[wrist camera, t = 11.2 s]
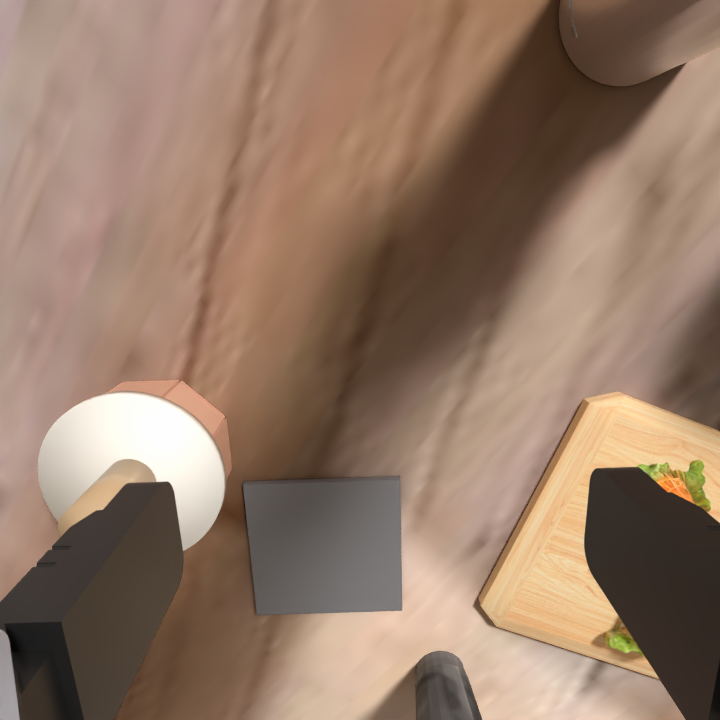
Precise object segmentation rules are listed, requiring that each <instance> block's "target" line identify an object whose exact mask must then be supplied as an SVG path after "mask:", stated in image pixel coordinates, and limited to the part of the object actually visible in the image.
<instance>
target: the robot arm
mask: <svg viewBox="0 0 720 720" xmlns="http://www.w3.org/2000/svg"><path fill="white" fill-rule="evenodd" d="M559 30H560V34H561V38H562V43H563V45H564V48H565V50H566V52H567V54H568V56H569V58H570V59H571V61H572V62H573V63H574V65H575V66H576V67H577V68H578V70H580V71H581V72H582V73H583V74H585V75H586V76H587V77H588V78H590V79H592V80H594V81H597V82H599V83H601V84H605V85H610V86H631V85H634V84H638V83H641V82H645V81H647V80H649V79H651V78H653V77H655V76H657V75H660V74H662V73H664V72H666V71H668V70H670V69H672V68H675V67H677V66H679V65H681V64H684V63H686V62H688V61H690V60H692V59H694V58H697V57H699V56H701V55H703V54H705V53H707V52H709V51H712V50H714V49H716V48H718V47H720V0H560V6H559ZM584 550H585V556H586V561H587V564H588V567H589V570H590V572H591V574H592V576H593V577H594V579H595V581H596V582H597V584H598V585H599V587H600V588H601V590H602V591H603V593H604V594H605V596H606V597H607V599H608V601H609V602H610V604H611V605H612V607H613V608H614V610H615V611H616V613H617V614H618V616H619V617H620V619H621V621H622V622H623V624H624V625H625V627H626V628H627V630H628V631H629V633H630V634H631V636H632V637H633V639H634V641H635V642H636V644H637V645H638V647H639V648H640V650H641V651H642V653H643V654H644V656H645V658H646V659H647V661H648V662H649V664H650V665H651V667H652V668H653V670H654V671H655V673H656V674H657V676H658V678H659V679H660V681H661V682H662V684H663V685H664V687H665V688H666V690H667V691H668V693H669V694H670V696H671V698H672V699H673V701H674V702H675V704H676V705H677V707H678V708H679V710H680V711H681V713H682V714H683V716H684V718H685V719H686V720H720V523H719V522H718V521H717V520H716V519H714V518H713V517H712V516H711V515H710V514H708V513H707V512H706V511H705V510H704V509H703V508H701V507H700V506H698V505H696V504H694V503H692V502H690V501H688V500H686V499H684V498H682V497H680V496H678V495H676V494H674V493H672V492H667V491H666V490H665V489H663V488H662V487H661V486H660V485H659V484H658V483H657V482H656V481H655V480H653V479H652V478H651V477H650V476H649V475H648V474H647V473H646V472H644V471H643V470H642V469H641V468H639V467H615V468H596V469H595V470H593V472H592V474H591V477H590V483H589V493H588V504H587V514H586V525H585V535H584ZM182 572H183V547H182V541H181V534H180V527H179V521H178V514H177V507H176V500H175V494H174V490H173V487H172V485H171V484H170V483H169V482H167V481H166V482H136V483H127V484H125V485H124V486H123V487H122V488H121V490H120V491H119V492H118V493H117V494H116V495H115V496H114V498H113V499H112V500H111V501H110V502H109V503H108V505H107V506H106V507H105V508H104V509H103V510H96V511H94V512H93V513H91V514H90V515H88V516H87V517H85V518H83V519H82V520H80V521H79V522H77V523H76V524H74V525H72V526H71V527H70V528H69V529H68V530H67V531H66V532H65V533H64V534H63V535H62V536H61V537H60V538H59V540H58V541H57V542H56V543H55V544H54V545H53V546H52V550H48V551H47V552H46V554H45V555H44V556H43V557H42V558H41V559H40V560H39V561H38V562H37V566H36V567H33V568H32V569H31V570H30V571H29V572H28V573H27V574H26V575H25V576H24V577H23V578H22V579H21V581H20V582H19V583H18V584H17V585H16V586H15V587H14V588H13V589H12V590H11V591H10V592H9V593H8V595H7V596H6V597H5V598H4V599H3V600H2V601H1V602H0V720H114V719H115V717H116V715H117V713H118V711H119V709H120V707H121V705H122V703H123V700H124V698H125V696H126V694H127V692H128V690H129V688H130V686H131V684H132V682H133V680H134V678H135V676H136V674H137V672H138V670H139V668H140V665H141V663H142V661H143V659H144V657H145V655H146V653H147V651H148V649H149V647H150V645H151V643H152V641H153V639H154V637H155V635H156V632H157V630H158V628H159V626H160V624H161V622H162V620H163V618H164V616H165V614H166V612H167V610H168V608H169V606H170V604H171V602H172V600H173V597H174V595H175V593H176V591H177V589H178V587H179V584H180V581H181V577H182Z"/></svg>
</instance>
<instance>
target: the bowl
mask: <svg viewBox="0 0 720 720" xmlns="http://www.w3.org/2000/svg"><path fill="white" fill-rule="evenodd" d="M113 391H139V392H145V393H150V394H154V395H157V396H161V397H163V398H165V399H168V400H170V401H172V402H174V403H176V404H178V405H180V406H182V407H183V408H185V409H186V410H187V411H189V412H190V413H192V414H193V415H194V416H195V417H196V418H197V419H198V420H199V421H201V422H202V424H203V425H204V426H205V427H206V428H207V429H208V431H209V432H210V433H211V435H212V436H213V438H214V439H215V441H216V443H217V445H218V447H219V449H220V451H221V454H222V457H223V460H224V463H225V469H226V479H227V478H228V476H229V474H230V472H231V469H232V462H231V453H230V444H229V435H228V427H227V418H224V417H225V415H223V414H222V413H221V412H220V411H218V410H217V409H216V408H215V407H214V406H212V405H211V404H210V403H209V402H207V401H206V400H205V399H204V398H202V397H201V396H200V395H199V394H198V393H196V392H195V391H194V390H193V389H191V388H190V387H189V386H188V385H187V384H185V383H184V382H183V381H181V382H179V380H159V381H130V382H123V383H120V384H119V385H117V386H116V387H115V388H113V389H112V390H110V391H109V392H113Z"/></svg>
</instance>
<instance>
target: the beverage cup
mask: <svg viewBox="0 0 720 720" xmlns="http://www.w3.org/2000/svg"><path fill="white" fill-rule="evenodd" d="M415 687H416V720H482V717H481V714H480V712H479V709H478V706H477V703H476V700H475V697H474V694H473V691H472V688H471V685H470V682H469V679H468V677H467V675H466V673H465V670H464V668H463V664H462V662H461V661H460V659H459V658H458V657H457V656H455V655H454V654H452V653H449V652H443V651H438V652H432V653H430V654H428V655H426V656H424V657H423V658H422V659H421V660H420V661H419V663H418V665H417V667H416V686H415Z"/></svg>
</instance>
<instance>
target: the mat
mask: <svg viewBox="0 0 720 720" xmlns="http://www.w3.org/2000/svg"><path fill="white" fill-rule="evenodd" d="M243 491H244V500H245V509H246V518H247V528H248V537H249V546H250V556H251V565H252V574H253V583H254V593H255V602H256V611H257V615H280V614H311V613H342V612H373V611H402V568H401V504H400V476H389V477H360V478H330V479H300V480H271V481H244V484H243Z"/></svg>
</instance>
